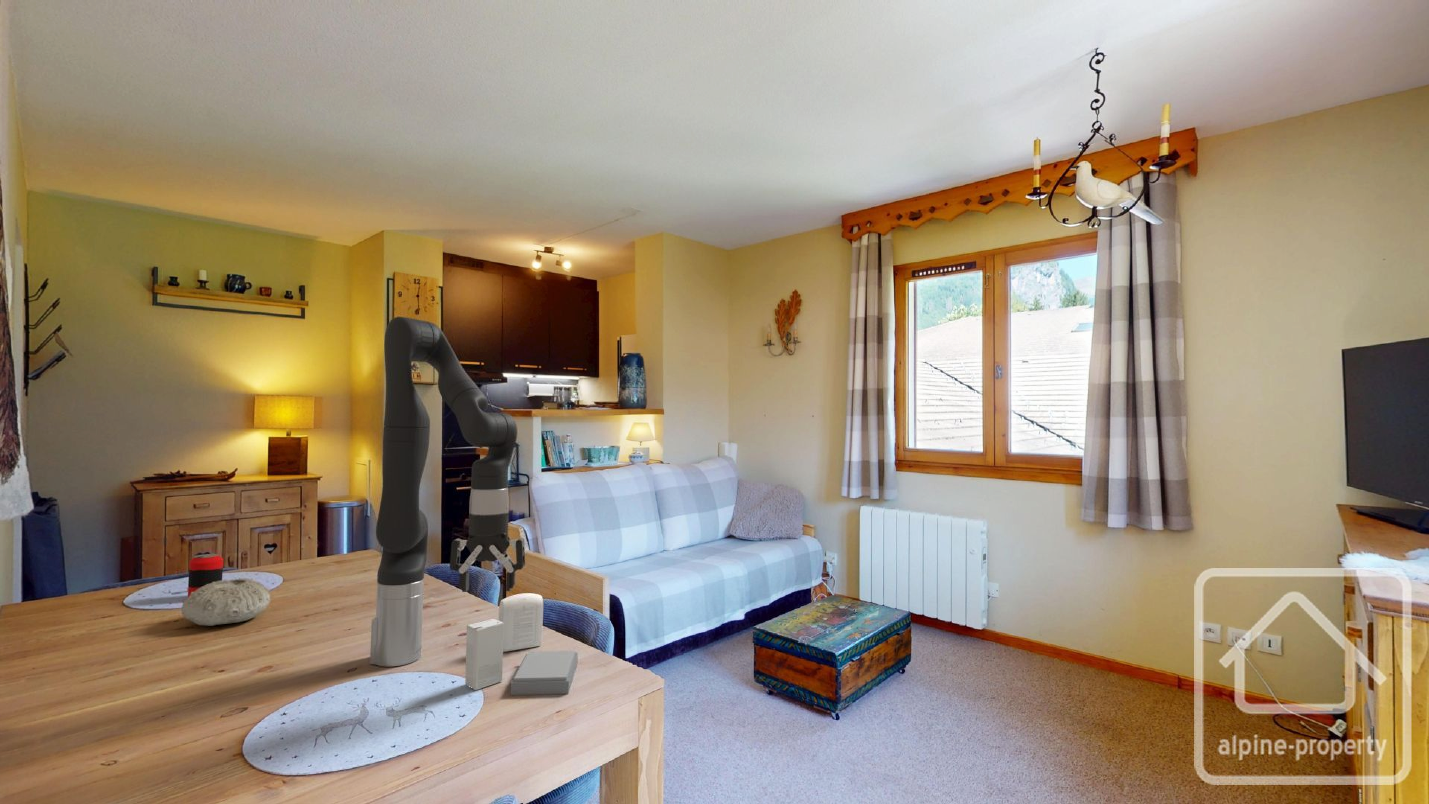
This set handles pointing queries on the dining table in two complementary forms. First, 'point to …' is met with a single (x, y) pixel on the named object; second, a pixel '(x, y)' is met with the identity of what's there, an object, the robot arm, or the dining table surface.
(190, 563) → the soda can
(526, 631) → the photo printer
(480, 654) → the skincare box
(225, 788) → the dining table surface
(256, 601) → the decorative shell
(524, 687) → the slate stand
